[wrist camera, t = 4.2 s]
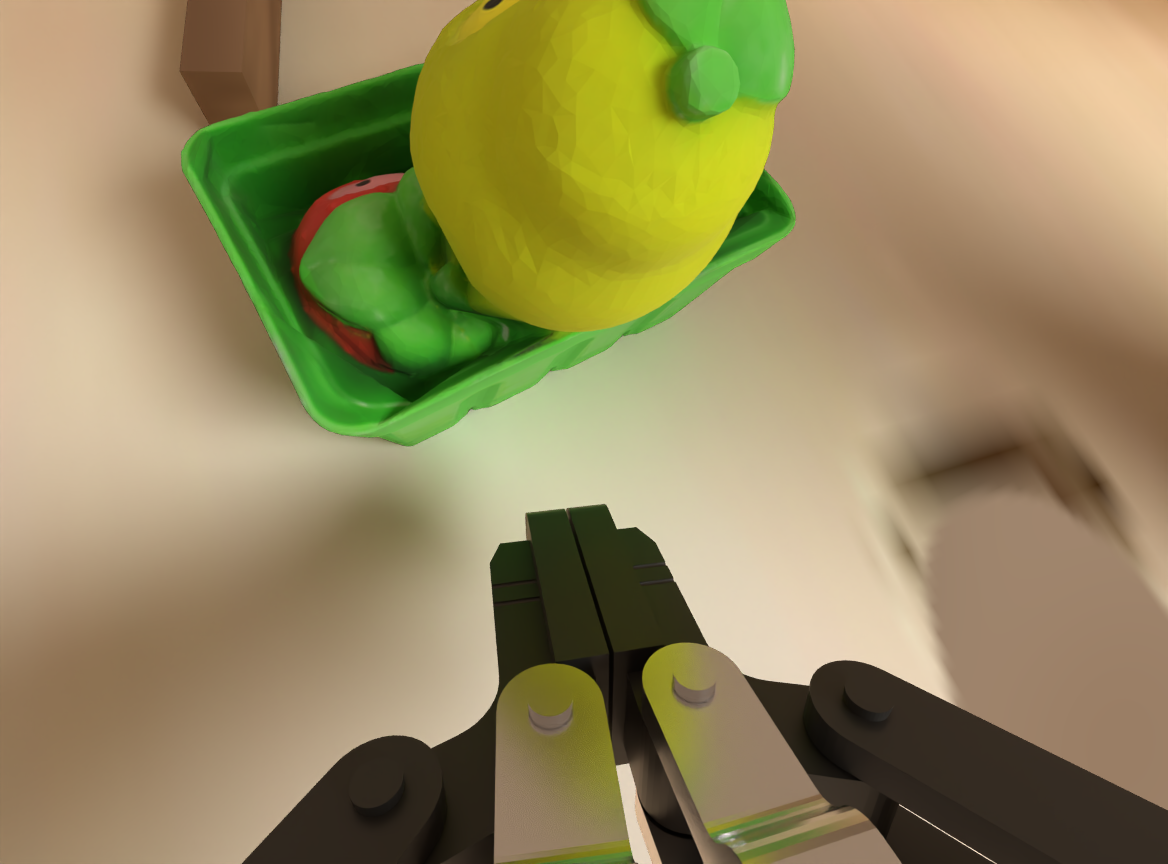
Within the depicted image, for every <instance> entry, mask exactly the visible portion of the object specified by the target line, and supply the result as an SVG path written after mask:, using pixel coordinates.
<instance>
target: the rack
mask: <svg viewBox="0 0 1168 864" xmlns="http://www.w3.org/2000/svg"><path fill="white" fill-rule="evenodd" d="M281 4H282V0H188V3H187V12H186V20H185V29H184V38H183V46H182V55H181V64H180V72H181V74H182V76H183V78H184V80H185V81H186V83H187V85H188V87H189V89H190V90H191V92H192V94H193V96H194V97H195V99H196V101H197V103H198V105H199V106H200V108H201V110H202V112H203V114H204V115H205V117H206V119H207V121H208V123H209V124H210V125H211V124H214V123H217V122H220V121H223V120H227V119H230V118H234V117H238V116H242V115H244V114H246V113H249V112H257V111H260V110H264V109H267V108H271V107H275V106H277V100H278V76H279V52H280V28H281Z"/></svg>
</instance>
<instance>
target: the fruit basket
mask: <svg viewBox="0 0 1168 864" xmlns="http://www.w3.org/2000/svg"><path fill="white" fill-rule="evenodd" d="M794 50H795V49H794V41H793V34H792V27H791V21H790V17H789V13H788V9H787V5H786V1H785V0H477V1H476V2H474V3H473V4H472V5H471V6H469V7H467V8H466V9H464V10H463V11H462V12H461V13H459V14H458V15H457V16H456V17H454V18H453V19H452V20H451V21H450V22H449V23H448V24H447V25H446V26H445V27H444V28H443V29H442V31H441V33H440V35H439V36H438V38H437V40H436V42H435V43H434V45H433V46H432V48H431V50H430V52H429V53H428V55H427V57H426V60H425V63H423V64H417V65H414V66H410V67H407V68H404V69H400V70H396V71H394V72H392V73H388V74H385V75H382V76H379V77H376V78H372V79H368V80H364V81H361V82H357V83H354V84H351V85H348V86H345V87H341V88H338V89H335V90H332V91H329V92H323V93H319V94H316V95H313V96H309V97H305V98H302V99H299V100H296V101H294V102H290V103H286V104H282V105H278V106H275V107H271V108H267V109H264V110H260V111H257V112H249V113H246V114H244V115H242V116H238V117H234V118H230V119H227V120H223V121H220V122H217V123H214V124H211V125H209V126H207V127H204V128H202V129H200V130H198V131H197V132H196V133H195V134H194V135H193V136H192V137H191V138H190V139H189V140H188V141H187V143H186V145H185V147H184V149H183V150H182V151H181V166H182V171H183V173H184V175H185V177H186V178H187V180H188V182H189V184H190V186H191V187H192V189H193V191H194V193H195V195H196V196H197V198H198V200H199V202H200V204H201V205H202V207H203V209H204V211H205V213H206V215H207V216H208V218H209V220H210V222H211V224H212V226H213V227H214V229H215V231H216V233H217V235H218V237H219V239H220V241H221V243H222V245H223V247H224V249H225V250H226V252H227V254H228V256H229V258H230V260H231V262H232V264H233V266H234V267H235V269H236V271H237V272H238V274H239V276H240V278H241V281H242V283H243V285H244V287H245V289H246V291H247V293H248V295H249V297H250V299H251V300H252V302H253V304H254V306H255V308H256V310H257V312H258V314H259V316H260V318H261V320H262V322H263V324H264V327H265V329H266V331H267V333H268V335H269V337H270V339H271V341H272V343H273V345H274V347H275V349H276V351H277V353H278V355H279V357H280V359H281V361H282V363H283V365H284V368H285V370H286V372H287V374H288V376H289V378H290V380H291V382H292V384H293V386H294V388H295V390H296V392H297V394H298V396H299V399H300V401H301V403H302V405H303V406H304V408H305V410H306V411H307V413H308V414H309V415H310V416H311V418H312V419H313V420H314V421H315V422H316V423H318V424H319V425H320V426H321V427H323V428H325V429H326V430H328V431H331V432H334V433H337V434H340V435H348V436H358V437H369V438H370V437H380V438H382V439H385V440H388V441H391V442H394V443H398V444H401V445H403V446H413V445H416V444H418V443H420V442H422V441H424V440H426V439H428V438H430V437H432V436H434V435H436V434H438V433H440V432H442V431H444V430H446V429H448V428H450V427H452V426H453V425H455V424H456V423H457V422H458V421H459V420H460V419H461V418H463V417H464V416H465V415H466V414H467V413H468V411H469V410H470V409H473V410H477V409H480V408H487V407H491V406H493V405H496V404H498V403H500V402H502V401H504V400H506V399H508V398H510V397H512V396H514V395H516V394H518V393H520V392H522V391H524V390H526V389H528V388H530V387H532V386H534V385H535V384H536V383H538V382H539V381H540V380H541V379H542V378H543V377H544V376H545V375H546V374H547V373H548V372H549V371H550V370H551V371H555V370H561V369H568V368H570V367H572V366H574V365H576V364H578V363H580V362H582V361H584V360H586V359H588V358H590V357H592V356H594V355H596V354H599V353H601V352H603V351H605V350H607V349H608V348H609V347H611V346H612V345H613V344H614V343H615V342H616V341H617V340H618V339H619V338H620V337H621V336H622V335H624V336H626V335H630V334H638V333H640V332H642V331H644V330H646V329H649V328H651V327H653V326H655V325H657V324H659V323H661V322H663V321H665V320H667V319H669V318H670V317H672V316H673V315H674V314H676V313H677V312H678V311H680V310H681V309H682V308H684V307H685V306H686V305H687V304H689V303H690V302H691V301H693V300H694V299H695V298H697V297H698V296H699V295H700V294H702V293H703V292H704V291H705V290H707V289H708V288H709V287H710V286H712V285H713V284H714V283H715V282H717V281H718V280H719V279H721V278H722V277H723V276H724V275H726V274H727V273H728V272H730V271H731V270H733V269H734V268H736V267H738V266H740V265H742V264H744V263H746V262H748V261H750V260H752V259H754V258H756V257H757V256H759V255H760V254H761V253H763V252H764V251H766V250H767V249H768V248H770V247H771V246H772V245H774V244H775V243H777V242H778V241H780V240H781V239H783V238H784V237H785V236H787V235H788V234H789V233H790V232H791V231H792V229H793V227H794V225H795V219H796V217H795V211H794V208H793V205H792V203H791V200H790V199H789V197H788V196H787V195H786V193H785V192H784V191H783V189H782V188H781V187H780V185H779V184H778V183H777V182H776V181H775V180H774V179H773V178H772V177H771V175H769V174H768V173H767V171H765V169H764V166H765V163H766V160H767V158H768V155H769V152H770V147H771V141H772V135H773V129H774V115H775V110H776V107H777V104H778V103H779V102H780V101H781V100H782V99H783V98H785V97H786V95H787V94H788V92H789V90H790V86H791V81H792V77H793V69H794Z"/></svg>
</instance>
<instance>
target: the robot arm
mask: <svg viewBox="0 0 1168 864" xmlns="http://www.w3.org/2000/svg"><path fill="white" fill-rule="evenodd" d="M525 519H526V539H527V541H518V542H510V543H502V544H500V545H499V547H498V549H497V551H496V553H495V554H494V556H493V558H492V560H491V562H490V571H491V583H492V595H493V607H494V619H495V631H496V644H497V656H498V668H499V687H498V692H497V695H496V697H495V700H494V702H493V704H492V705H491V707H490V709H489V710H488V711H487V712H486V714H485V715H484V716H483V717H482V718H481V719H480V720H479V721H478V722H477V723H476V724H475V725H473V726H472V727H471V728H469V729H468V730H466V731H465V732H463V733H461V734H459V735H458V736H456V737H454V738H452V739H450V740H447V741H445V742H443V743H441V744H439V745H437V746H435V747H433V748H430V747H429V746H428V745H426V744H425V743H423V742H422V741H420V740H417V739H415V738H412V737H407V736H394V735H393V736H386V737H381V738H377V739H373V740H371V741H368V742H366V743H364V744H362V745H360V746H358V747H356V748H355V749H353V750H351V751H350V752H349V753H347V754H346V755H345V756H343V757H342V758H341V759H340V760H339V761H338V762H337V763H336V764H335V765H334V766H333V767H332V768H331V769H330V770H329V771H328V772H327V773H326V774H325V775H324V776H323V778H322V779H321V780H320V781H319V782H318V783H317V784H316V785H315V786H314V787H313V788H312V789H311V790H310V791H309V792H308V794H307V795H306V796H305V797H304V798H303V799H302V800H301V801H300V802H299V803H298V804H297V805H296V806H295V807H294V808H293V810H292V811H291V812H290V813H289V814H288V815H287V816H286V817H285V818H284V819H283V820H282V821H281V822H280V823H279V824H278V826H277V827H276V828H275V829H274V830H273V831H272V832H271V833H270V834H269V835H268V836H267V837H266V838H265V839H264V840H263V841H262V843H261V844H260V845H259V846H258V847H257V848H256V849H255V850H254V851H253V852H252V853H251V854H250V855H249V856H248V857H247V859H246V860H245V861H244V862H243V863H242V864H638V863H635V862H634V859H633V856H632V852H631V848H630V843H629V838H628V832H627V826H626V821H625V815H624V810H623V804H622V798H621V793H620V787H619V782H618V776H617V771H616V765H621V764H627V763H629V764H630V768H631V771H632V775H633V778H634V782H635V785H636V796H635V812H636V817H637V821H638V824H639V827H640V830H641V832H642V835H643V838H644V841H645V844H646V847H647V850H648V853H649V855H650V858H651V861H652V864H995V863H997V864H1168V810H1166V809H1164V808H1162V807H1159V806H1157V805H1155V804H1153V803H1151V802H1149V801H1147V800H1145V799H1143V798H1141V797H1139V796H1137V795H1135V794H1133V793H1131V792H1129V791H1127V790H1125V789H1123V788H1121V787H1119V786H1117V785H1115V784H1113V783H1111V782H1109V781H1107V780H1105V779H1103V778H1101V777H1099V776H1097V775H1095V774H1092V773H1091V772H1088V771H1087V770H1084V769H1082V768H1080V767H1078V766H1076V765H1074V764H1072V763H1070V762H1068V761H1066V760H1064V759H1062V758H1060V757H1058V756H1056V755H1054V754H1052V753H1050V752H1048V751H1046V750H1044V749H1042V748H1040V747H1038V746H1036V745H1034V744H1032V743H1030V742H1028V741H1026V740H1023V739H1022V738H1020V737H1018V736H1015V735H1013V734H1011V733H1009V732H1007V731H1005V730H1003V729H1001V728H999V727H997V726H995V725H993V724H991V723H989V722H987V721H985V720H983V719H981V718H979V717H977V716H975V715H973V714H971V713H969V712H967V711H965V710H963V709H961V708H959V707H957V706H955V705H953V704H951V703H949V702H947V701H945V700H942V699H940V698H938V697H936V696H934V695H932V694H930V693H928V692H926V691H924V690H922V689H920V688H918V687H916V686H914V685H912V684H910V683H908V682H906V681H904V680H902V679H900V678H898V677H896V676H894V675H892V674H890V673H888V672H886V671H884V670H882V669H879V668H877V667H875V666H872V665H869V664H866V663H862V662H856V661H846V660H844V661H835V662H830V663H828V664H825V665H823V666H822V667H820V668H819V669H817V671H816V672H815V673H814V674H813V676H812V679H811V681H810V686H806V685H798V684H790V683H781V682H773V681H766V680H760V679H756V678H753V677H749V676H747V675H744V674H742V673H741V671H740V670H739V668H738V667H737V666H736V664H735V663H734V662H733V661H732V660H730V659H729V658H728V657H727V656H725V655H724V654H723V653H721V652H719V651H717V650H716V649H713V648H711V647H709V646H708V644H707V643H706V641H705V639H704V637H703V635H702V633H701V631H700V629H699V627H698V625H697V623H696V621H695V619H694V617H693V615H692V613H691V611H690V609H689V608H688V606H687V604H686V602H685V600H684V598H683V596H682V594H681V592H680V590H679V588H678V586H677V584H676V582H674V580H673V576H672V574H671V572H670V570H669V568H668V566H666V565H665V560H664V559H663V557H662V555H661V553H660V551H659V549H658V547H657V545H656V543H655V542H654V541H653V540H652V539H650V538H649V537H648V536H647V535H645V534H644V533H643V532H642V531H640V530H639V529H638V528H636V527H634V528H626V529H617V528H616V526H615V524H614V521H613V519H612V517H611V514H610V512H609V510H608V507H607V506H606V505H605V504H601V505H592V506H583V507H574V508H567V509H566V511H565V509H557V510H548V511H539V512H531V513H526V516H525ZM899 804H900V805H902V806H904V807H905V808H907V809H909V810H910V811H912V812H913V813H915V814H917V815H918V816H920V817H922V818H923V819H925V820H927V821H928V822H930V823H931V824H933V825H935V826H936V827H938V828H940V829H941V830H943V831H945V832H946V833H948V834H949V835H951V836H953V837H954V838H956V839H958V840H959V841H961V842H963V843H964V844H966V845H967V846H969V847H971V848H972V849H974V850H976V851H977V852H979V853H981V854H982V855H984V856H985V857H987V858H989V859H990V860H992V861H994V862H995V863H993V862H991V861H989V860H988V859H986V858H984V857H983V856H981V855H979V854H978V853H976V852H975V851H973V850H971V849H970V848H968V847H966V846H965V845H963V844H962V843H960V842H958V841H957V840H955V839H953V838H952V837H950V836H948V835H947V834H945V833H944V832H942V831H940V830H939V829H937V828H935V827H934V826H932V825H931V824H929V823H927V822H926V821H924V820H922V819H921V818H919V817H917V816H916V815H914V814H913V813H911V812H909V811H908V810H906V809H904V808H903V807H901V806H899Z"/></svg>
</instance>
